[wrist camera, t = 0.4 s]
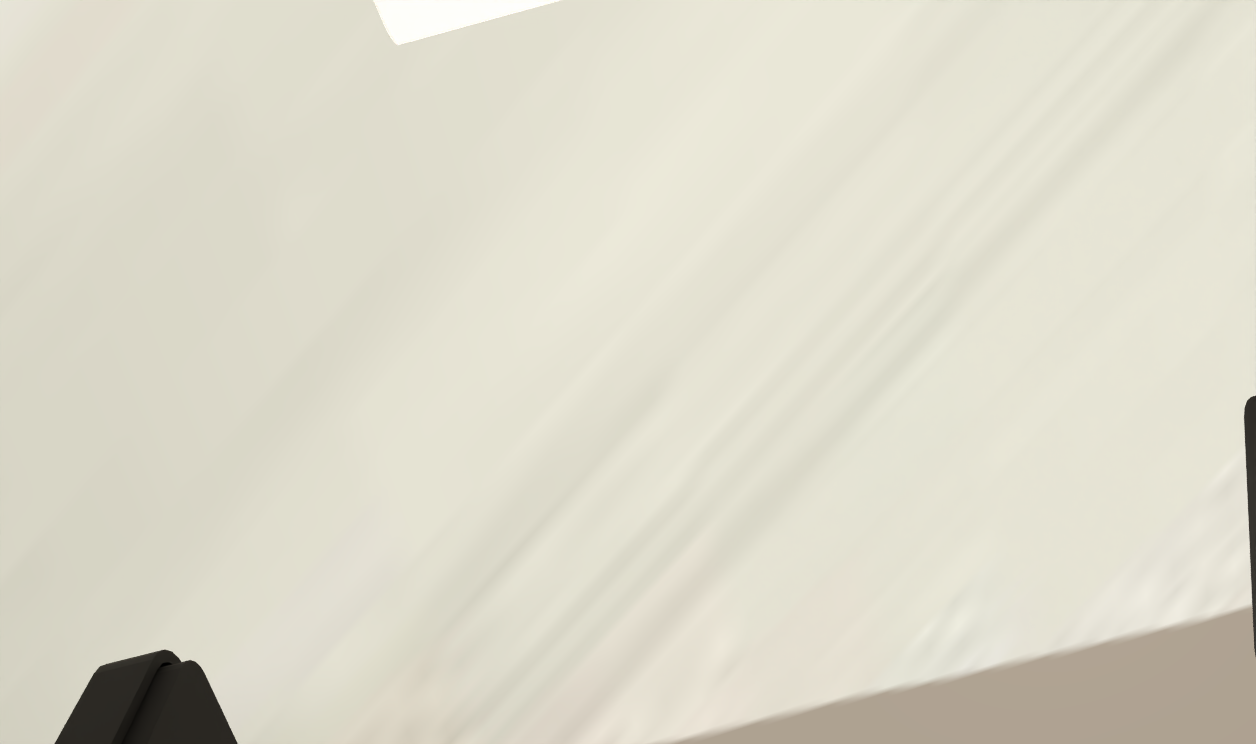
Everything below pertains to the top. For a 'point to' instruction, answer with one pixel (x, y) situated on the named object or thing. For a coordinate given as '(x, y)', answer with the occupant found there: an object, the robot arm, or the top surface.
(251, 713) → the top surface
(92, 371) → the top surface
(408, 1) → the milk carton
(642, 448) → the top surface
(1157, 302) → the top surface
